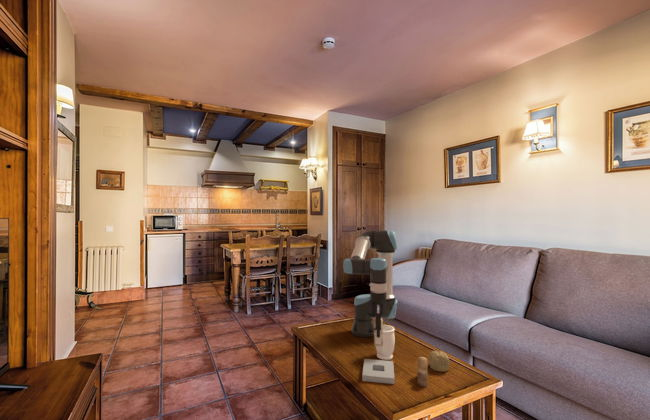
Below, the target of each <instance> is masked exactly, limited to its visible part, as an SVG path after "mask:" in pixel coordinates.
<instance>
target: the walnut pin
mask: <svg viewBox="0 0 650 420" xmlns="http://www.w3.org/2000/svg"><path fill="white" fill-rule="evenodd" d="M416 374H417V385H418V386H419V387H421V388H426V387H428V372H427V373H426V372H425V371H418V370H417V372H416Z"/></svg>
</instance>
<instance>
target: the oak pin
mask: <svg viewBox="0 0 650 420" xmlns="http://www.w3.org/2000/svg"><path fill="white" fill-rule="evenodd" d="M417 361H418V362H417V372H418V371H425V372H426V373H427V374H428V358H427V357H424V356H418V358H417Z"/></svg>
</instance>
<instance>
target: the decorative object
mask: <svg viewBox="0 0 650 420" xmlns="http://www.w3.org/2000/svg"><path fill="white" fill-rule="evenodd" d="M428 361H429V367H430V369H432V370H433V371H436V372H443V373H445V372H447V371H449V369H450V358H449V356H448V355H447V353H445V352H444V351H441V350H440V351H439V350H432V351H430V353H429V360H428Z"/></svg>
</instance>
